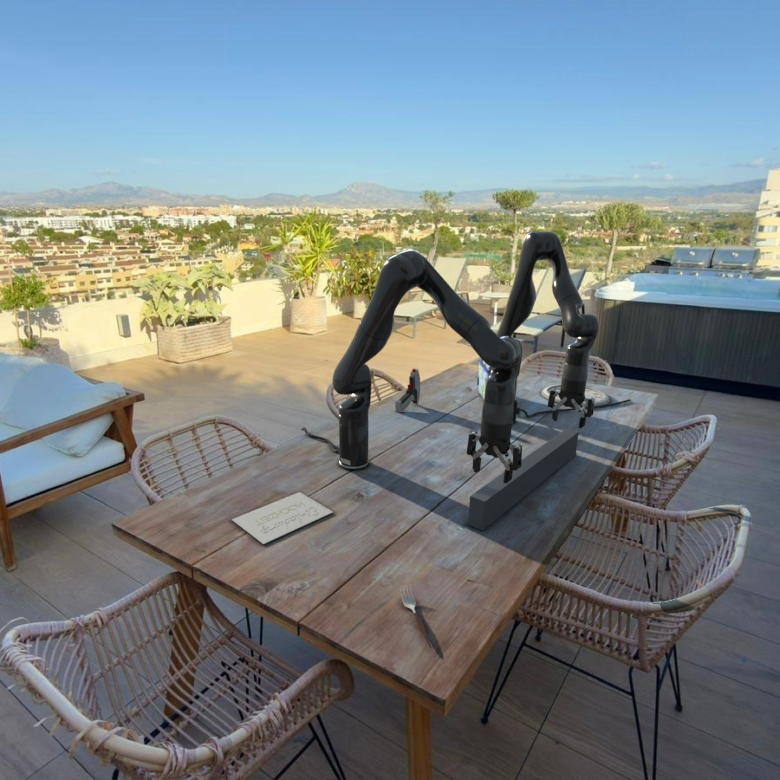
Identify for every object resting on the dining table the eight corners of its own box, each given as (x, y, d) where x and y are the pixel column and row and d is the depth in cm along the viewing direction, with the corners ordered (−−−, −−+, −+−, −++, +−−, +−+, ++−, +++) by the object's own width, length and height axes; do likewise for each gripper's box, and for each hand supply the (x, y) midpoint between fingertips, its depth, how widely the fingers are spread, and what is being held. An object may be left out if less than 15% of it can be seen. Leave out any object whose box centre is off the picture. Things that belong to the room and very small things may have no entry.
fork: (423, 651, 94) (424, 642, 93) (398, 593, 109) (398, 585, 108) (437, 648, 95) (437, 639, 94) (410, 591, 109) (411, 583, 109)
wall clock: (623, 402, 226) (556, 403, 224) (623, 406, 227) (556, 407, 224) (592, 383, 255) (532, 383, 252) (591, 386, 255) (532, 386, 253)
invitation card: (299, 491, 149) (333, 511, 139) (299, 492, 149) (333, 512, 139) (231, 519, 134) (263, 543, 124) (231, 520, 134) (263, 544, 124)
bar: (563, 451, 180) (566, 428, 178) (575, 454, 178) (578, 431, 175) (467, 524, 135) (469, 495, 132) (482, 531, 132) (485, 501, 129)
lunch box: (475, 390, 246) (478, 346, 240) (498, 390, 246) (501, 347, 240) (484, 408, 221) (487, 360, 215) (509, 409, 221) (513, 360, 215)
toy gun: (394, 376, 210) (415, 366, 221) (395, 413, 216) (416, 402, 227) (399, 377, 209) (420, 367, 220) (400, 414, 215) (420, 403, 226)
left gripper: (464, 414, 130) (460, 473, 135) (516, 429, 122) (510, 491, 127) (479, 407, 136) (474, 463, 141) (530, 420, 127) (523, 480, 132)
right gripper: (548, 374, 168) (542, 421, 173) (592, 384, 159) (585, 433, 164) (557, 370, 173) (551, 415, 178) (601, 378, 165) (593, 426, 170)
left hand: (491, 476), depth 134 cm, fingers open, 8 cm apart
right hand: (567, 424), depth 171 cm, fingers open, 8 cm apart
